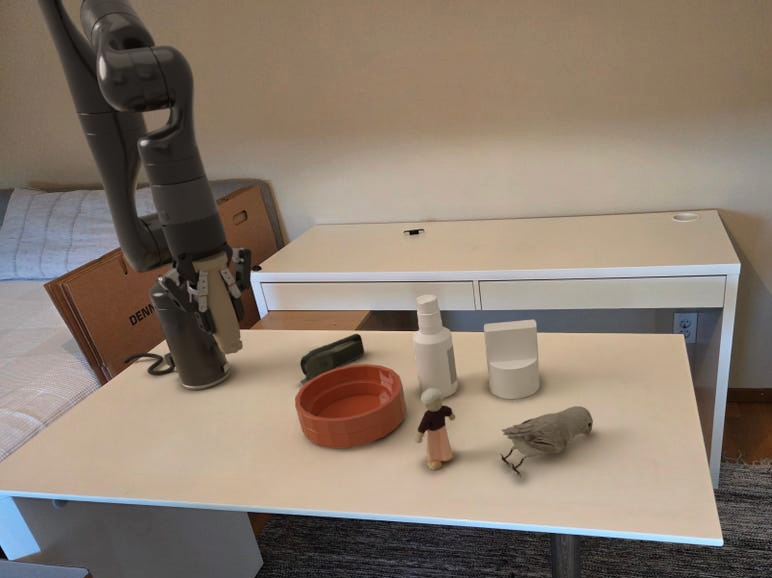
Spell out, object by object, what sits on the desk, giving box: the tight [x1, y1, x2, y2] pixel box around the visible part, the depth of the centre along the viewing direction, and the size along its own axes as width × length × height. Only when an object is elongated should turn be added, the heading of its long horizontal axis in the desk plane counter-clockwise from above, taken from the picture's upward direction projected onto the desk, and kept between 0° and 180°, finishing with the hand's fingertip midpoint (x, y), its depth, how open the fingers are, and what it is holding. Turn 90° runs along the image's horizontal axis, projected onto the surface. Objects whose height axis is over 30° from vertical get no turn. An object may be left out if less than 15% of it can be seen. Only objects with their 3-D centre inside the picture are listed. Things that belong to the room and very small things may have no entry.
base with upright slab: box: [483, 319, 540, 400], centre depth 111 cm, size 9×9×12 cm
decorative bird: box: [499, 405, 594, 478], centre depth 94 cm, size 5×16×8 cm, turn 122°
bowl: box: [294, 363, 407, 449], centre depth 107 cm, size 18×18×6 cm
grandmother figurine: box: [414, 388, 457, 471], centre depth 94 cm, size 8×4×13 cm, turn 148°
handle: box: [192, 251, 243, 355], centre depth 92 cm, size 5×6×15 cm
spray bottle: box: [412, 293, 459, 399], centre depth 111 cm, size 7×7×18 cm
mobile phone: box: [299, 333, 365, 385], centre depth 124 cm, size 5×3×15 cm
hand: (224, 326), depth 94 cm, fingers closed on handle, 4 cm apart
